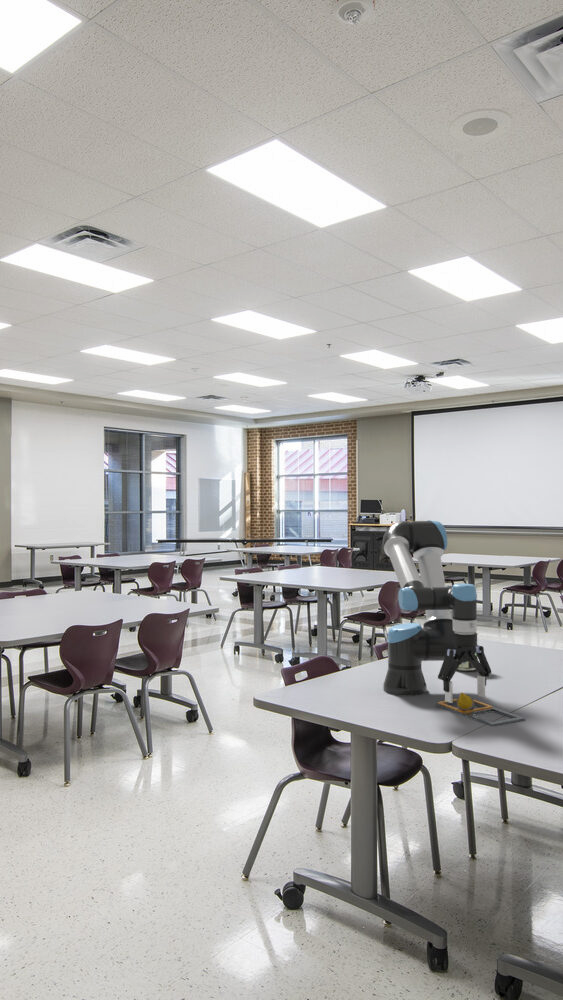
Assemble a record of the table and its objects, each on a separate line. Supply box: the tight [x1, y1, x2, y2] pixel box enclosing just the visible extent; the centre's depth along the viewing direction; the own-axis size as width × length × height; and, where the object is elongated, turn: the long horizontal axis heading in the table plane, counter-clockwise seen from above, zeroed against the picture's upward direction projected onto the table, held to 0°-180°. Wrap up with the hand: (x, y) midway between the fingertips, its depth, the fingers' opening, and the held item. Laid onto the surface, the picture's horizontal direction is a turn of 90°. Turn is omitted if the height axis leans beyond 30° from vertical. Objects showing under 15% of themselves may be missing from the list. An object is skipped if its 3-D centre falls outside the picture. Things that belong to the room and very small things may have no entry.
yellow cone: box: [456, 692, 475, 711], centre depth 213 cm, size 5×5×10 cm
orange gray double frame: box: [435, 698, 526, 727], centre depth 211 cm, size 25×13×1 cm, turn 27°
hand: (465, 699), depth 217 cm, fingers open, 13 cm apart
